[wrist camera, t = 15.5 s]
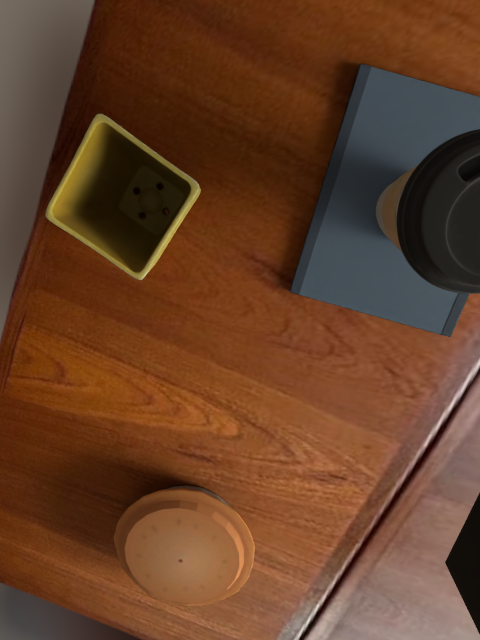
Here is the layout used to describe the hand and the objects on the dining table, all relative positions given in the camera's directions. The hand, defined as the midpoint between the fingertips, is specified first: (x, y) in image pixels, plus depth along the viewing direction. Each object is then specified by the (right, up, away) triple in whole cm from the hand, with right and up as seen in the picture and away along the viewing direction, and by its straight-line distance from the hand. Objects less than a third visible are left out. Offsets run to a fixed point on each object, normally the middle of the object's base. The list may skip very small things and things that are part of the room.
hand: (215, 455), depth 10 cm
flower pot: (-7, +15, +29) cm, 33 cm away
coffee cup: (+16, +13, +27) cm, 34 cm away
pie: (-5, -21, +39) cm, 44 cm away
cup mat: (+16, +13, +27) cm, 34 cm away
